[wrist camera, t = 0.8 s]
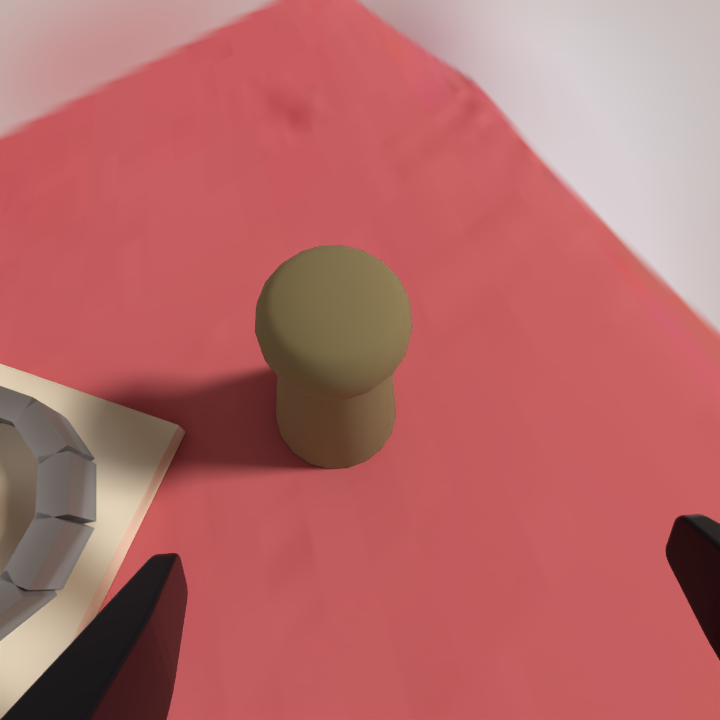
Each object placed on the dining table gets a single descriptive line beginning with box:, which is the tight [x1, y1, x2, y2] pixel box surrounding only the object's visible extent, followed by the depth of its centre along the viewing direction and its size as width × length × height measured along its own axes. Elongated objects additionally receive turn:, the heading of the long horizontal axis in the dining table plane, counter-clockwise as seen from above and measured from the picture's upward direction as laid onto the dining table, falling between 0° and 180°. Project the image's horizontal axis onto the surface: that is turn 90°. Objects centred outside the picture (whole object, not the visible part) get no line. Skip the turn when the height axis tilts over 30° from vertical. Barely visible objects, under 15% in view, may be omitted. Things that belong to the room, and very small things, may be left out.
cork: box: [255, 245, 412, 469], centre depth 20 cm, size 6×6×11 cm
